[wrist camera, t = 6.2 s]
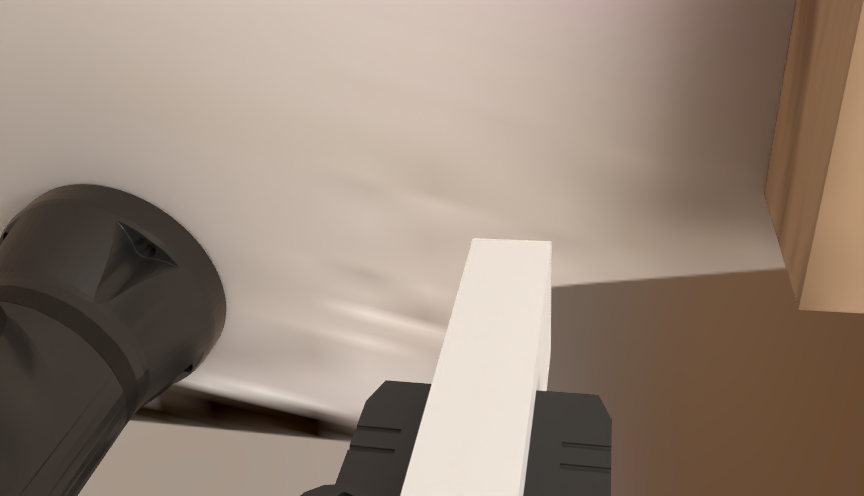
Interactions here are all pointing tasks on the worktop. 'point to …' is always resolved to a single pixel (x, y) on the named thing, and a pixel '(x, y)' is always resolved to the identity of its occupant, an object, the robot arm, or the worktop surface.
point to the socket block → (821, 157)
